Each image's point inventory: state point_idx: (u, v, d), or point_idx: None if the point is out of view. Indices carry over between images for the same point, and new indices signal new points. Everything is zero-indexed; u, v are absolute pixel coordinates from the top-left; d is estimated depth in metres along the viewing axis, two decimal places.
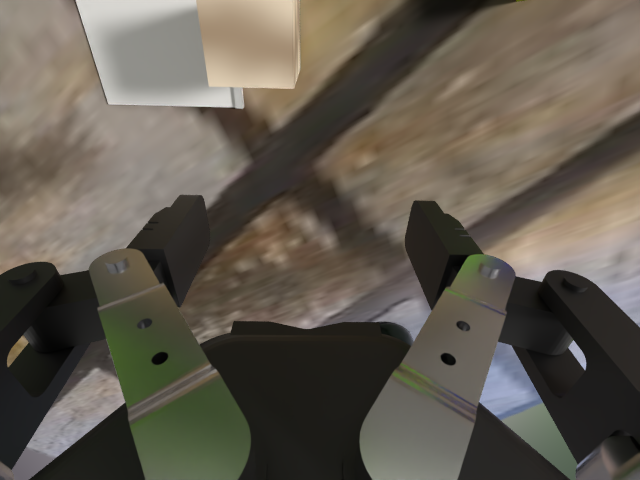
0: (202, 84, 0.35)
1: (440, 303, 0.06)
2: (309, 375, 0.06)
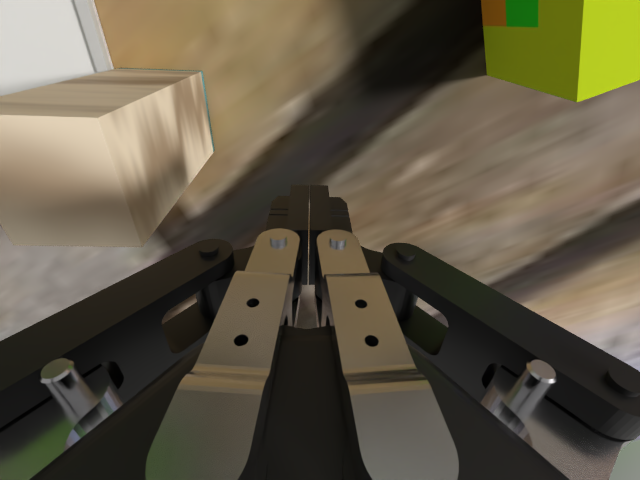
0: None
1: (332, 293, 0.07)
2: (309, 375, 0.06)
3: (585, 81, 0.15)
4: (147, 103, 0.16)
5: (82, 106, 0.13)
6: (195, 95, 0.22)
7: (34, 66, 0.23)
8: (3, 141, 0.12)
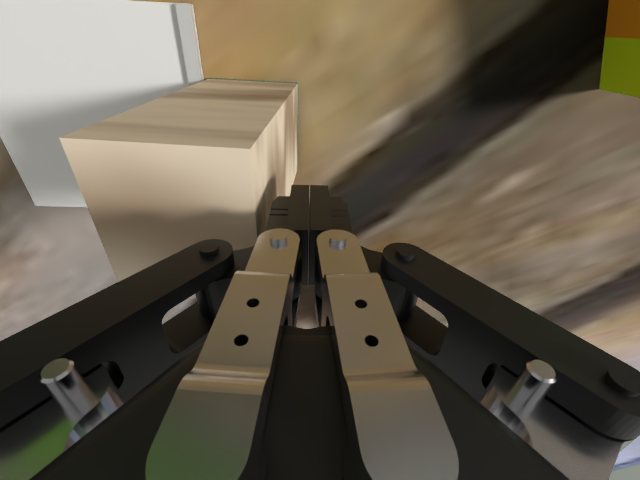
0: None
1: (332, 293, 0.07)
2: (309, 375, 0.06)
3: None
4: (273, 124, 0.14)
5: (217, 130, 0.11)
6: (293, 110, 0.20)
7: (119, 76, 0.21)
8: (132, 171, 0.10)
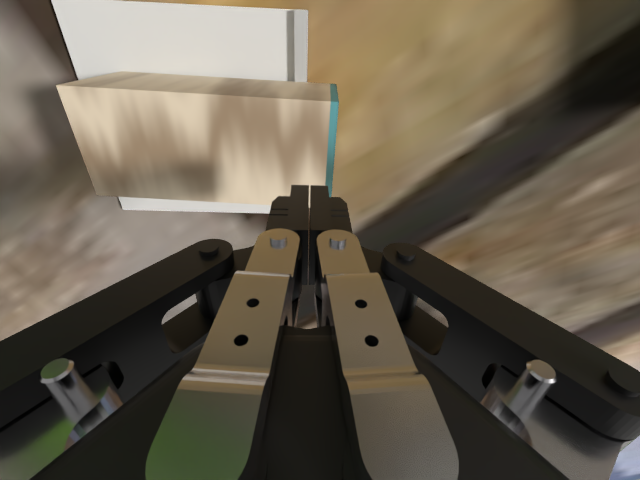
0: None
1: (332, 293, 0.07)
2: (309, 375, 0.06)
3: None
4: (143, 97, 0.16)
5: (109, 82, 0.17)
6: (289, 124, 0.17)
7: None
8: None
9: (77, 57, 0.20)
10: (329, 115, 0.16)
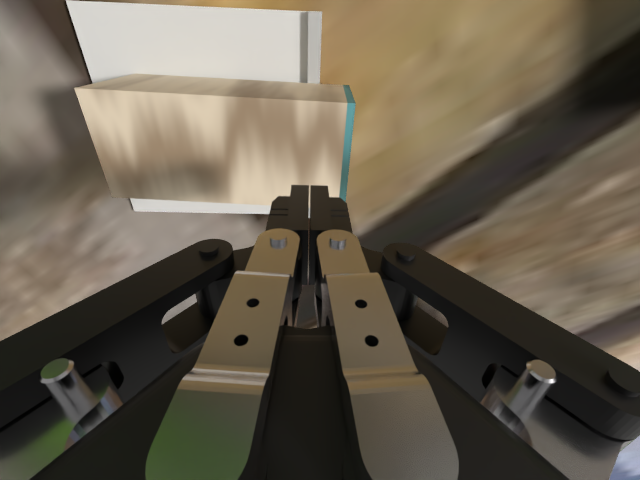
0: None
1: (332, 293, 0.07)
2: (309, 375, 0.06)
3: None
4: (160, 99, 0.16)
5: (126, 85, 0.17)
6: (305, 126, 0.17)
7: None
8: None
9: (91, 60, 0.20)
10: (345, 116, 0.16)
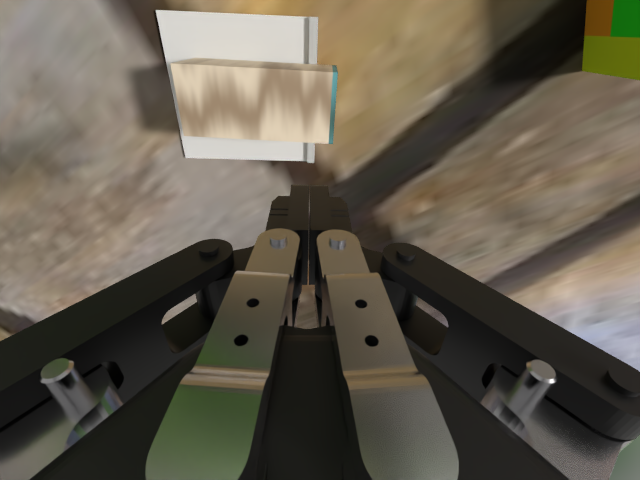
0: (277, 141, 0.36)
1: (332, 293, 0.07)
2: (309, 375, 0.06)
3: None
4: (221, 70, 0.27)
5: (197, 62, 0.28)
6: (308, 87, 0.27)
7: None
8: None
9: (167, 48, 0.31)
10: (332, 81, 0.27)
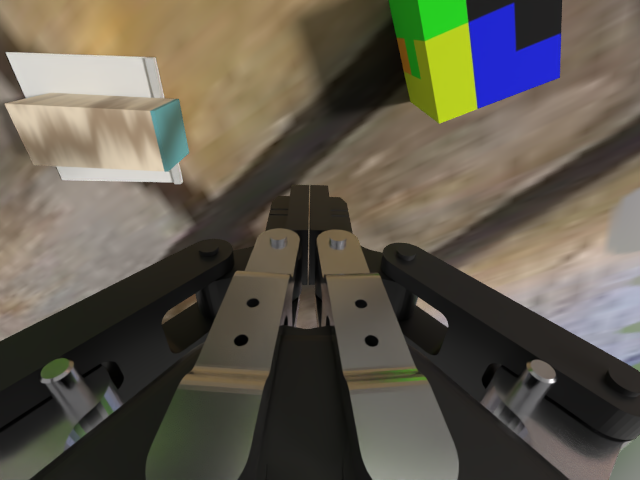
0: None
1: (332, 293, 0.07)
2: (309, 375, 0.06)
3: (441, 112, 0.28)
4: (51, 109, 0.30)
5: (35, 101, 0.31)
6: (131, 123, 0.31)
7: None
8: None
9: (23, 85, 0.34)
10: (151, 118, 0.30)
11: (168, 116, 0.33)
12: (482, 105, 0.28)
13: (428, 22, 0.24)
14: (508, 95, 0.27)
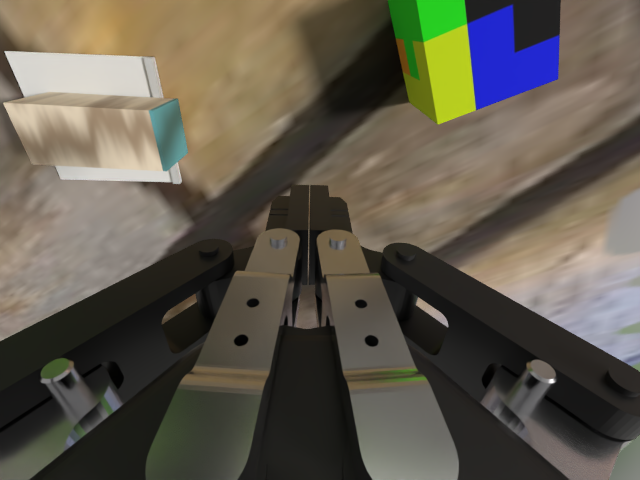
0: None
1: (332, 293, 0.07)
2: (309, 375, 0.06)
3: (440, 113, 0.28)
4: (49, 108, 0.30)
5: (34, 100, 0.31)
6: (130, 123, 0.31)
7: None
8: None
9: (22, 84, 0.34)
10: (150, 117, 0.30)
11: (167, 115, 0.33)
12: (481, 106, 0.28)
13: (427, 23, 0.24)
14: (506, 96, 0.27)
